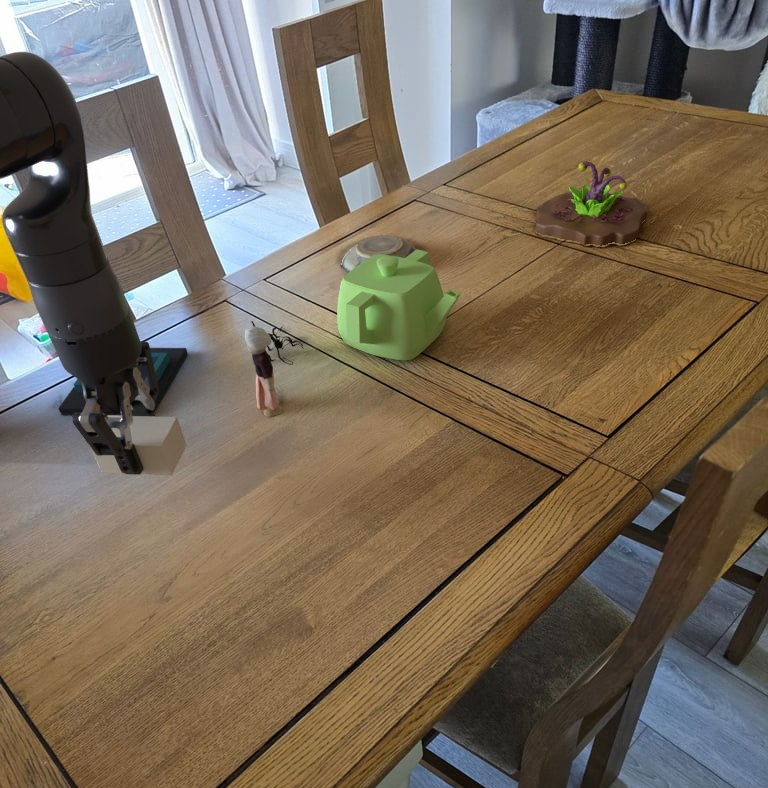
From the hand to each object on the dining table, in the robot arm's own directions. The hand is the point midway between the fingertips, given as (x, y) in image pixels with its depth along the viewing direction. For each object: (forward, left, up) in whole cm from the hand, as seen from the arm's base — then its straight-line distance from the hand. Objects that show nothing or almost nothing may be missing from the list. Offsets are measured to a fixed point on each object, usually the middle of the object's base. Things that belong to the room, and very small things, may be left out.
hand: (143, 454), depth 76 cm
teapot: (+24, +39, -10) cm, 47 cm away
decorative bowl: (+17, +66, -10) cm, 69 cm away
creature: (+5, +36, -10) cm, 38 cm away
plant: (+55, +81, -10) cm, 99 cm away
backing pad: (-17, +28, -10) cm, 34 cm away
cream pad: (0, 0, -1) cm, 1 cm away
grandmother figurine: (+7, +22, -10) cm, 25 cm away
